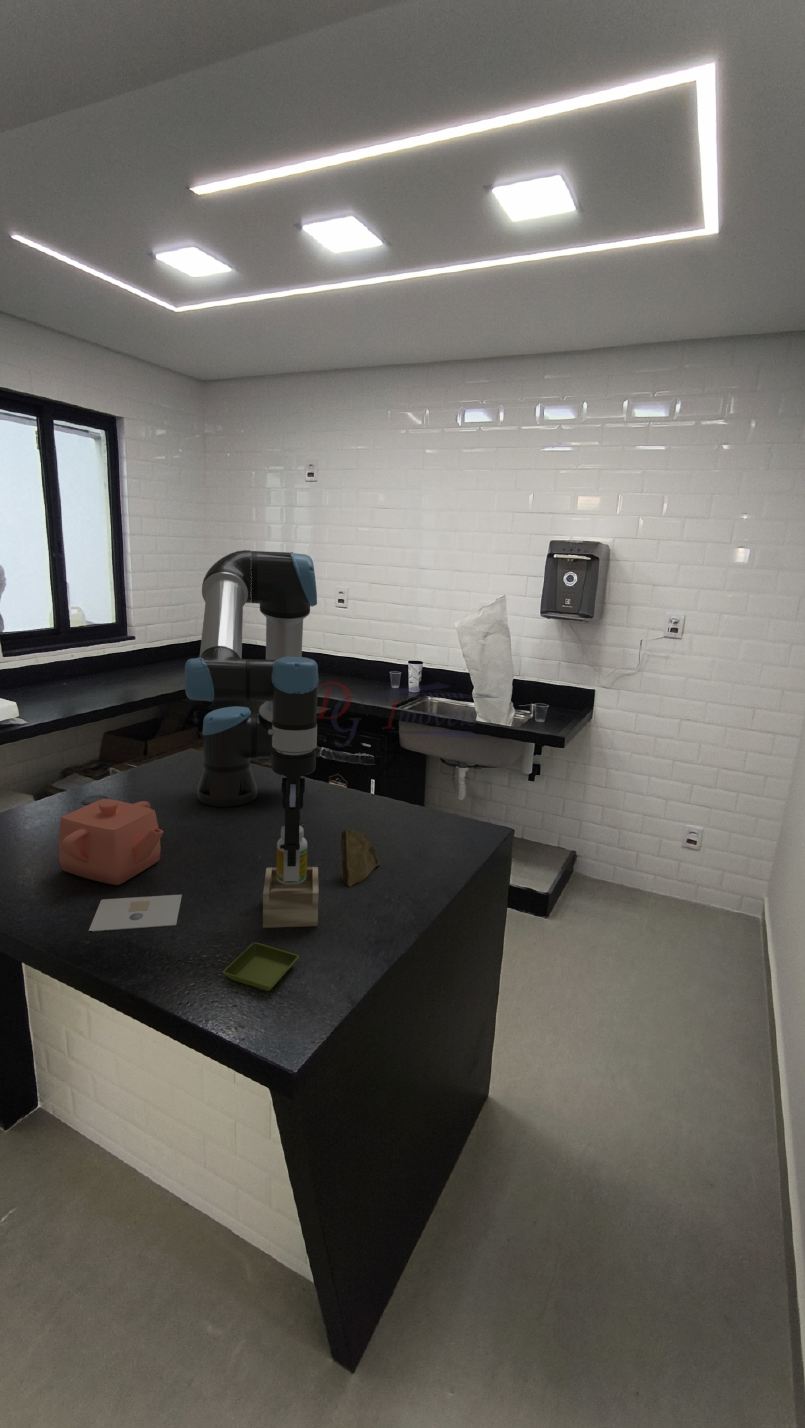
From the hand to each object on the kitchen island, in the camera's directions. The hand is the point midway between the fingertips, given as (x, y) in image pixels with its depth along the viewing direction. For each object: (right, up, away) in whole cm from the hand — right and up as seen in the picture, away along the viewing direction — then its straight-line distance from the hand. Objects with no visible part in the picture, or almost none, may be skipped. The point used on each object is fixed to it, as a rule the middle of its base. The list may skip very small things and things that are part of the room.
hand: (291, 870), depth 116 cm
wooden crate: (0, -8, +2) cm, 8 cm away
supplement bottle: (0, -2, 0) cm, 2 cm away
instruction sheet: (-27, -7, -1) cm, 28 cm away
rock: (+11, -5, +18) cm, 22 cm away
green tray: (-2, -13, -15) cm, 20 cm away
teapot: (-36, -3, +13) cm, 39 cm away
